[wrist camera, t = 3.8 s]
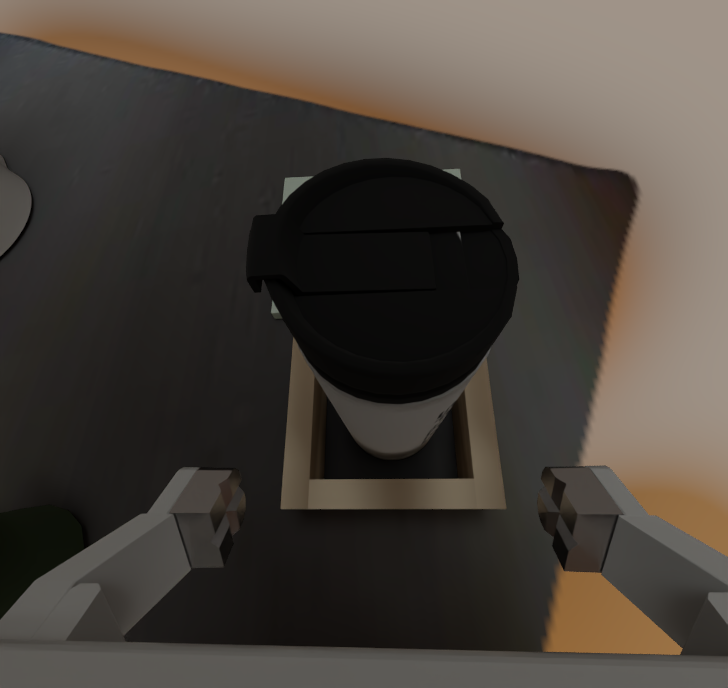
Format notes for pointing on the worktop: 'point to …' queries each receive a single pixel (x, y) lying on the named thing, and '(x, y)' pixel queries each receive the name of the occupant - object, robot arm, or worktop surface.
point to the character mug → (34, 547)
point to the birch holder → (312, 491)
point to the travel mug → (388, 292)
